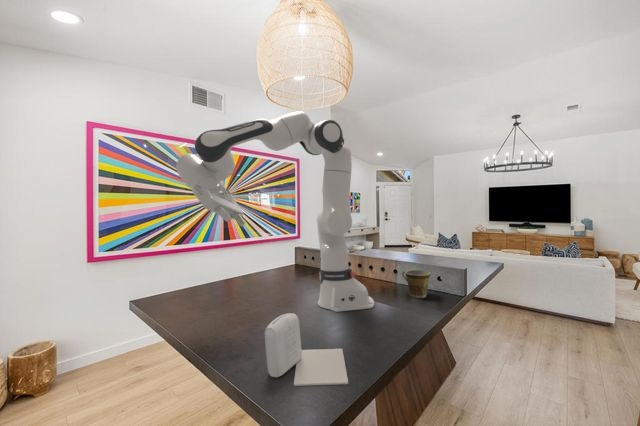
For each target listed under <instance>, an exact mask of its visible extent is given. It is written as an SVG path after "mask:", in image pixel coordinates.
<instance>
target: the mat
mask: <svg viewBox="0 0 640 426" xmlns="http://www.w3.org/2000/svg"><path fill="white" fill-rule="evenodd" d="M301 350H302V358H301V359H300V360H299V361H298V362H297V363H296V364H295V373H294V380H293V387H303V386H330V385H331V386H332V385H335V386H336V385H349V379H348V375H347V374H348V373H347V367H346V363H345V356H344V352H343V348H324V349H323V348H322V349H320V348H319V349H301Z"/></svg>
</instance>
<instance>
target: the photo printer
mask: <svg viewBox="0 0 640 426" xmlns="http://www.w3.org/2000/svg"><path fill="white" fill-rule="evenodd" d="M301 339H302V338H301V329H300V321H299V317H298V316H297V315H296V314H295V313H293V312H291V313H290V312H288V313H284V314H281V315H278V316H277V317H276V318H274V319H273V320H272V321H271V322H270V323H268V325H267V327H265V330H264V343H265V344H264V345H265V355H266V364H267V372H268V374H269V376H271V377H272V378H279V377H281V376H283V375H285V373H287V372H288V371H289V370H290V369H291V368H292V367H294V366H296V363H297V362H298V361H299V360H300V359H301V358H302V350H303V349H302V340H301Z"/></svg>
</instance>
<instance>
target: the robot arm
mask: <svg viewBox="0 0 640 426" xmlns="http://www.w3.org/2000/svg"><path fill="white" fill-rule="evenodd" d="M343 135H344V134H343V129H342V128H341V125H340V124H339V123H338V122H337V121H336V120H333V119H324V120H321V121H320V122H317V123H316V124H315V123H313V122H312V121H311V118H310V116H309V115H308V114H307V113H306V112H303V111H301V110H300V111H299V110H298V111H295V112H290V113H287V114H284V115H281V116H279V117H276V118H274V119H270V120H269V119H266V118H258V119H253V120H249V121H246V122H242V123H239V124H238V123H237V124H235V125H233V126H227V127H225V128H220V129H219V128H218V129H210V130H206V131H203V132H202V133H201V134H200V135H198V137H197V138H196V140H195V142H194V150H195V152H196V154H194V153H192V152H191V153H184V154H182V155H181V156H179V158H178V159H177V162H176V163H175V166H176V168H175V169H176V171H177V174H178V176H179V177H180V179H181V180H182V181H183V183H184V184H185V186H187V187H188V188H190V190H191V191H192V194H193V195H194V196H195V197H196V198H197V200H198V201H199V202H200V204H201V205H202V206H203V207H204V208H205V209H206V211H209V212H213V213H216V214H217V215H218V216H220V217H221V218H222V219H223V220H224V221H225V222H230V221H232V220H235V221H236V224H238V226H240V227H244V226H245V225H246V222H245V220H244V218H243V217H242V216H244V211H243V209H242V208H241V207H240V205H239V204H238V203H237V201H236V200H235V199H234V198H233V194H232V193H231V192H230V191H229V190H227V188H226V187H225V186H224V184H222V183H221V182H222V181H224V180H225V179H227V178H229V177H231V176H233V173H234V172H235V170H236V163H235V160H234V156H233V153H232V151H231V150H232V148H233V147H235V146H239V145H241V144H245V143H246V142H250V141H254V140H256V141H257V140H258V141H260V142H261V143H262V144H263V145H264V146H265V147H266V148H267V149H269V150H272V151H275V152H279V151H282V150H286V149H287V148H290V147H291V146H293V145H295V144H297V143H299V144H300V145H301V146H302V148H303V149H304V151H305V152H306V153H307V154H309V155H311V156H319V155H322V157H323V160H324V166H323V168H324V169H323V178H322V189H321V193H322V209H321V210H320V211H319V213H318V215H317V217H316V221H317V222H316V223H317V232H318V233H317V234H318V242H319V251H320V269H319V282H320V288H319V289H320V290H319V296H318V301H317V305H318V306H319V307H321V308H322V309H326V310H331V311H332V312H346V311H347V312H348V311H358V310H367V309H372V308H374V307H375V301H374V299H373V298H372V297H371V296H370V295H369V292H368V289H367V287H366V286H365V285H364V284H363V283H362V282H360V281H358V280H357V279H356V278H355V277H356V272H355V271H354V270H353V269H352V268H350V267H349V249H348V246H347V243H346V238H345V237H346V236H345V234H346V233H348V232H349V230H351V228H352V225H353V218H352V215H351V213H352V211H351V197H350V193H351V178H352V168H353V166H352V153H351V149H350V148H349V147H348V146H346V145H344V144H345V140H344V139H345V138H344V137H343Z"/></svg>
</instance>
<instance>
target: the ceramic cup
mask: <svg viewBox="0 0 640 426" xmlns="http://www.w3.org/2000/svg"><path fill="white" fill-rule="evenodd" d="M404 274H405V275H404ZM401 275H402V277H403V279H404V280H406V282H407V286H408V291H409V295H410V297H412V298H416V299H425V298H426V297H427V294H428V288H429V283H430V276H431V273H430V272H429V271H426V270H420V269H412V270H411V269H410V270H406V271H403V272H402V274H401Z"/></svg>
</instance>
